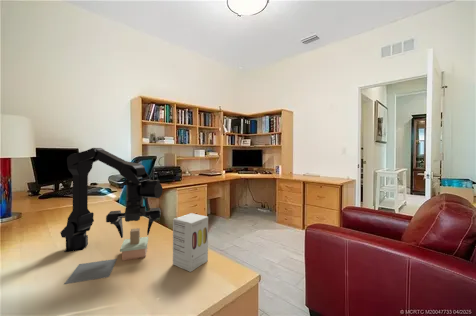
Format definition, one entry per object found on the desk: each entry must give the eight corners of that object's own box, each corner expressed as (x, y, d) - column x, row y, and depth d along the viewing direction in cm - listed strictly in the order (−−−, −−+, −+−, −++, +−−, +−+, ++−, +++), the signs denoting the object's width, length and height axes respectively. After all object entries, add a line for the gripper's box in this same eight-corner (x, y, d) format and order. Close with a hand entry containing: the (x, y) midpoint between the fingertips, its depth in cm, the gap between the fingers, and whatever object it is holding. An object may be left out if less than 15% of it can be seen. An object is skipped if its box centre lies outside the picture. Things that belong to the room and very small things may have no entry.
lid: (124, 241, 86) (124, 227, 86) (148, 239, 89) (148, 224, 89) (119, 251, 77) (119, 235, 77) (146, 248, 80) (146, 232, 80)
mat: (63, 285, 64) (63, 284, 64) (79, 265, 76) (79, 264, 76) (109, 278, 68) (109, 276, 68) (117, 259, 79) (117, 258, 79)
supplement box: (190, 272, 71) (190, 223, 71) (171, 264, 76) (171, 218, 76) (208, 260, 80) (208, 216, 79) (190, 254, 84) (190, 212, 84)
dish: (122, 261, 78) (121, 251, 78) (125, 251, 86) (125, 242, 86) (145, 258, 81) (145, 247, 81) (147, 249, 88) (147, 239, 88)
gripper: (101, 203, 72) (102, 248, 72) (159, 199, 78) (160, 241, 78) (109, 196, 82) (110, 236, 83) (160, 193, 88) (160, 230, 89)
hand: (135, 236), depth 83 cm, fingers open, 9 cm apart
